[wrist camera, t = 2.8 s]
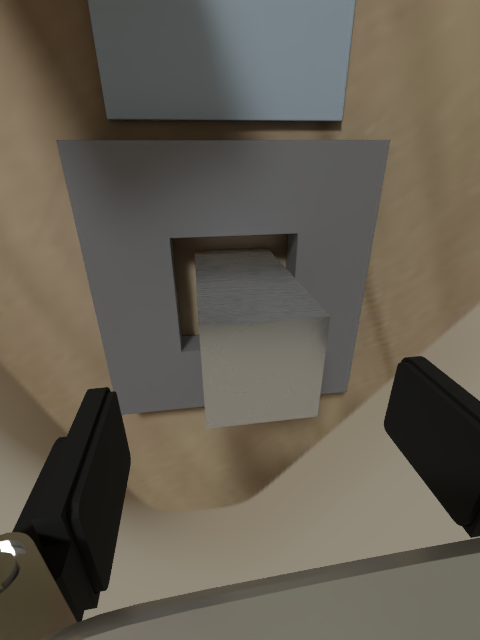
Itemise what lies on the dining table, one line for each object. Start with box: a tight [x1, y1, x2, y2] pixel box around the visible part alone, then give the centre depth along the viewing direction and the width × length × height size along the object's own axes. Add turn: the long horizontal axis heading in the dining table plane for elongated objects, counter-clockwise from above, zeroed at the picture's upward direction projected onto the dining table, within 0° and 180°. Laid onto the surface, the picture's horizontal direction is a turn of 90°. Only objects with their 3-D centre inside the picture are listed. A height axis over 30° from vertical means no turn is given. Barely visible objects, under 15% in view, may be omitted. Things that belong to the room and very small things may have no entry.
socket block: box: [57, 140, 390, 415], centre depth 20 cm, size 16×16×2 cm
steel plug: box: [195, 248, 330, 429], centre depth 16 cm, size 4×4×10 cm
